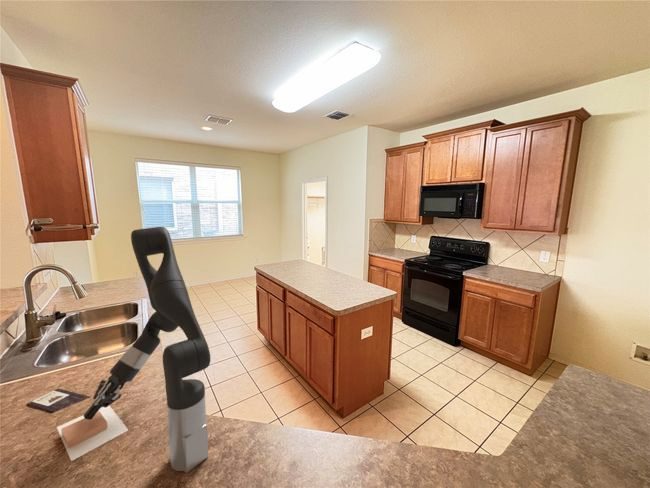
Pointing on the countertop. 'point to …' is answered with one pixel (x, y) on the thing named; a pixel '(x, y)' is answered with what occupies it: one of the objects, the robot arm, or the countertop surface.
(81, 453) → the mat
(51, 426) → the countertop surface
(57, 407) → the chocolate bar
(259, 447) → the countertop surface
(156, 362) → the countertop surface
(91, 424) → the block
